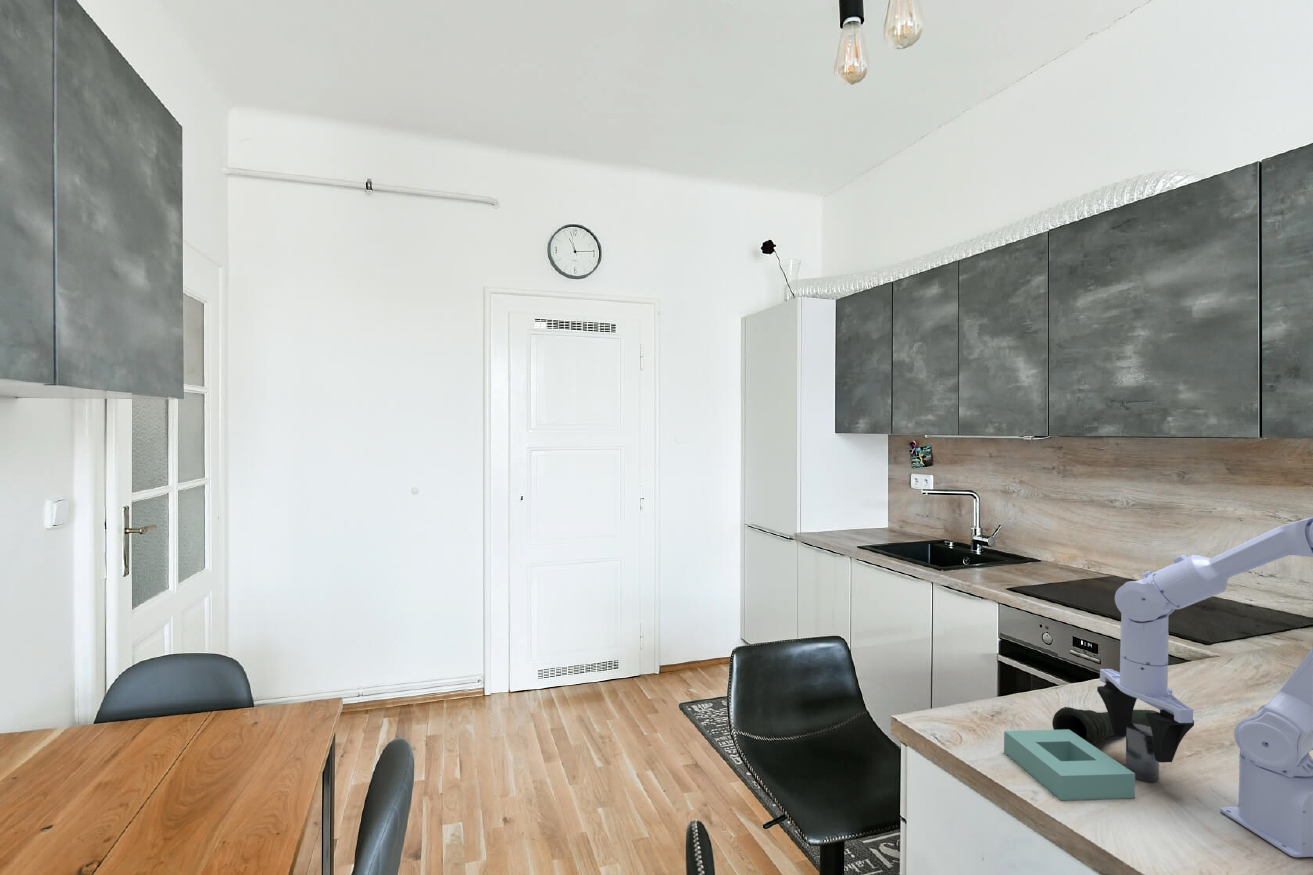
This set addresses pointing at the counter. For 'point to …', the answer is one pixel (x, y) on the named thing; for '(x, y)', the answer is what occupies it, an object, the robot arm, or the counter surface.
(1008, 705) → the counter surface
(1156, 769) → the pin
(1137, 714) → the tool
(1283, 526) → the robot arm
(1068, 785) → the hole block
